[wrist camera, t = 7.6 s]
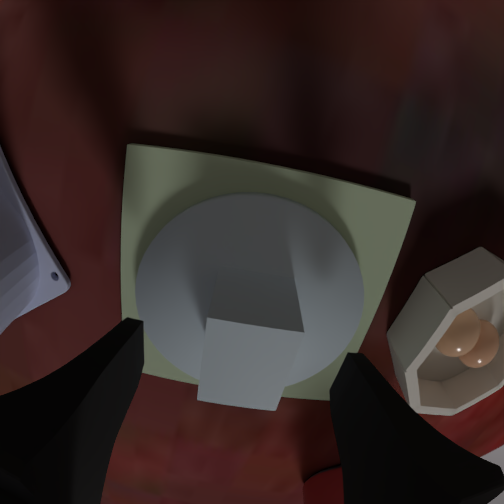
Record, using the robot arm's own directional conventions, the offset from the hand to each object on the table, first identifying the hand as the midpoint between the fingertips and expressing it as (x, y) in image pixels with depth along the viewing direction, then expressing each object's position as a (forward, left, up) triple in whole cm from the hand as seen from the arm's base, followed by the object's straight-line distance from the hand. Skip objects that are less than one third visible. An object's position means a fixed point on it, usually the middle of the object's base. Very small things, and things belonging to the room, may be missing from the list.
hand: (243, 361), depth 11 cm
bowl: (+7, +10, -4) cm, 13 cm away
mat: (0, 0, -4) cm, 4 cm away
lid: (0, 0, -4) cm, 4 cm away
